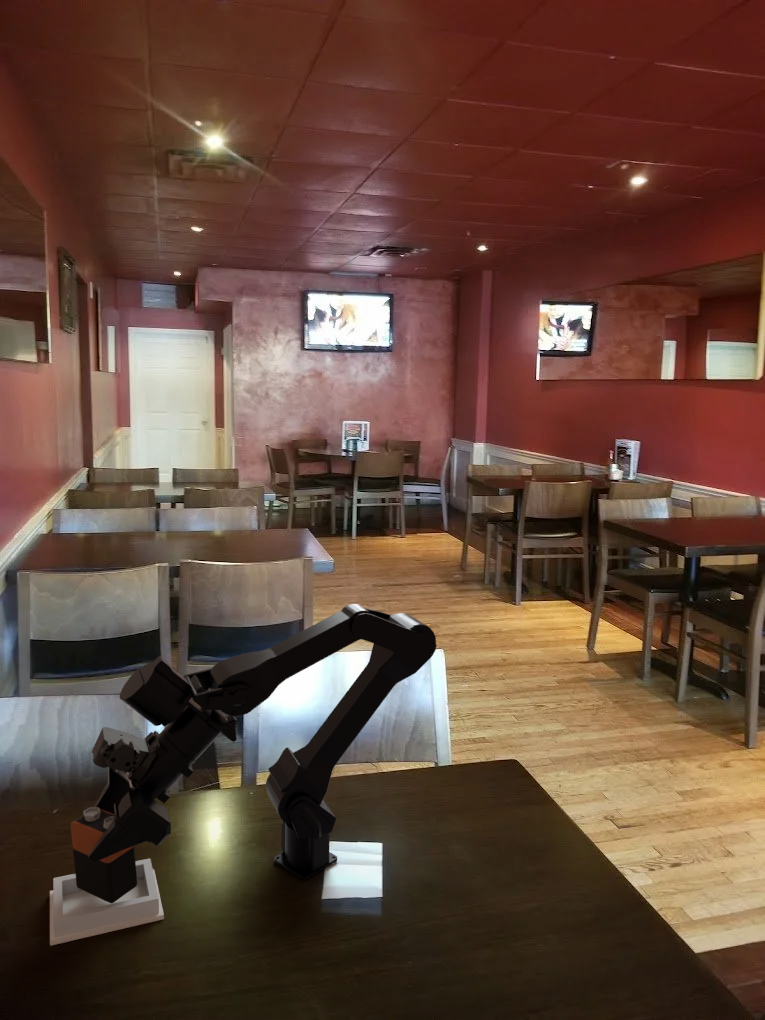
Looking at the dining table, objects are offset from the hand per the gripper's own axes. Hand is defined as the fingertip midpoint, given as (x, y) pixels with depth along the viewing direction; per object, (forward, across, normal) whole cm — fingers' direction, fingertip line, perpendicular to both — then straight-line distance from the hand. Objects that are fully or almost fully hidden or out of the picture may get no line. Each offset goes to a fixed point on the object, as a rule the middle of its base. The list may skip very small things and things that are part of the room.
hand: (89, 841), depth 98 cm
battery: (+4, 0, +6) cm, 7 cm away
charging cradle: (+5, 0, +8) cm, 9 cm away
